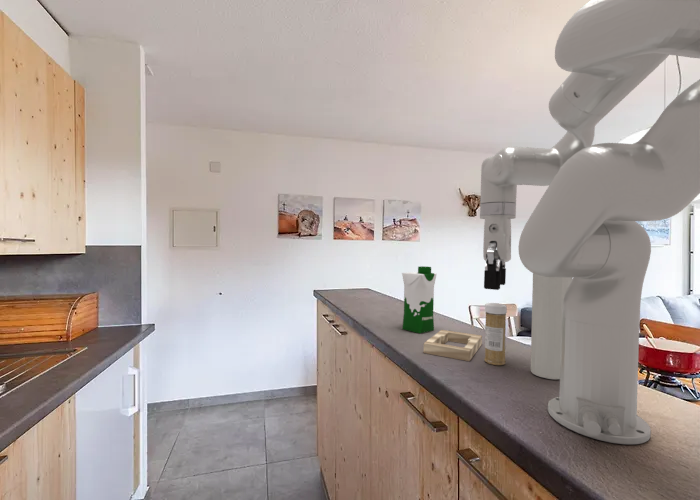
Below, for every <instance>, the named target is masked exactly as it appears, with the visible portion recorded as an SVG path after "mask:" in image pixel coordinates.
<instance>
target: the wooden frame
mask: <svg viewBox="0 0 700 500" xmlns="http://www.w3.org/2000/svg"><path fill="white" fill-rule="evenodd" d="M448 342H453V343H459V344H464V347H463V346H456V345H451V344H447V343H448ZM482 345H483V335H480V334H474V333H466V332H461V331H453V330H447V329H440V330H439V331H438V332H436V333H435V334H434V335H433V336H431V337H430V338H428V339H427V340H426V341H424V343H423V353H422V354H427V355H433V356H438V357H444V358H449V359H454V360H461V361H465V362H470V361H471V360H472V359H473V357H474V356H475V355H476V353H477V352H478V350H479V349H480V348H481V346H482Z"/></svg>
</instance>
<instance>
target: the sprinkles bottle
mask: <svg viewBox="0 0 700 500" xmlns="http://www.w3.org/2000/svg"><path fill="white" fill-rule="evenodd" d="M507 308H508V307H507V305H506V304H505V303H500V302H499V303H498V302H486V303H485V305H484V312H485V325H484V332H485V333H484V362H486V364H489V365H493V366H504V365H505V364H506V347H507V345H506V343H507V341H506V340H507V336H506V335H507V334H506V324H507V323H506V320H507V318H506V316H507V313H508V311H507V310H508V309H507Z"/></svg>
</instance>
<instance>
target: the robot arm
mask: <svg viewBox="0 0 700 500" xmlns="http://www.w3.org/2000/svg"><path fill="white" fill-rule="evenodd" d="M669 56H675V57H676V56H678V57H682V58H683V57H685V58H693V59H700V0H589V1H588V2H587V3H585V4H584V5H582V6H581V7H580V8H579V9H578V10H577V11H576V12H575V13H574V14H573V15H572V16H571V17H570V18H569V19H568V21H567V22H566V24H564V26H563V28H562V29H561V32H560V34H559V35H558V38H557V40H556V44H555V47H554V60H555V63H556V64H557V66H558V67H559V68H560V69H561V70H563V71H566V72H568V73H569V72H570V74H569V75H568V76H567V78H566V79H565V80H564V81H563V82H562V84H561V85H560V86H559V87H558V88H557V89H556V90H555V91H554V93H553V94H552V95H551V97H550V98H549V102H548V111H549V113H550V116H551V117H552V119H553V120H554V122H555V123H557V125H559V127H561V128H562V129H564V130H565V131H566V133H565V134H564V135H563V136H562V138H560V140H559V141H558V142H556V143H555V145H553V146H552V147H551V148H543V147H528V146H527V147H526V146H525V147H523V146H508V147H504V148H502V149H501V150H499V151H498V152H497V153H496V154H494V155H493V156H490V157H486V158H485V159H484V160H483V161H482V162H481V169H480V171H481V172H480V173H481V174H480V199H479V200H480V201H479V202H480V203H479V219H481V220H484V225H483V247H482V248H483V253H482V254H483V259H484V261H485V264H484V271H483V272H484V275H483V276H484V277H483V288H484V289H485V290H493V291H494V290H495V291H498V290H500V289H501V286H504V285H506V280H507V279H506V275H507V274H506V273H507V268H506V263H508V262H509V261H511V259H512V222H511V221H512V219H516V218H517V194H518V193H517V189H518V188H517V186H534V187H535V186H536V187H547V188H546V190H545V192H544V193H543V195H542V196H541V198H540V199H539V202H538V203H537V205H536V206H535V208H534V210H533V211H532V213H531V215H530V216H529V218H528V219H527V220H526V221H527V222H526V223H525V225H524V227H523V228H522V231H521V233H520V236H519V237H520V238H519V240H518V255H519V260H520V261H521V263H522V266H524V268H525V269H527V270H528V271H529V272H531V273H532V274H533V273H534V274H536V275H540V276H544V277H573V279H572V281H571V283H570V285H569V286H568V288H567V290H566V293H565V295H564V298H563V303H562V316H561V355H560V379H559V396H556V397H553V398H551V399H550V400H548V403H547V411H548V414H549V415H550V416H551V418H552V419H553V420H555V421H556V422H557V423H558V424H560V425H561V426H563V427H564V428H567V429H568V430H571V431H572V432H575V433H577V434H580V435H582V436H584V437H588V438H591V439H594V440H598V441H602V442H606V443H611V444H619V445H641V444H644V443H646V442H648V441H649V440H650V439H651V433H652V432H651V431H652V429H651V426H650V425H649V423H648V422H647V421H645V419H643V418H642V417H640V416H639V415H638V385H639V384H638V383H639V381H638V380H639V348H640V347H639V346H640V345H639V344H640V324H641V304H642V303H641V300H642V291H643V287H644V286H643V285H644V281H645V277H646V274H647V270H648V267H649V263H650V259H651V254H652V242H651V239H650V236H649V234H648V231H646V229H645V228H644V227H643V226H642V225H641V224H640V223H638V222H654V221H655V222H656V221H662V220H663V221H664V220H667V219H670V218H672V217H674V216H676V215H677V214H679V213H681V212H682V211H683V210H685V208H686V207H688V206H689V205H690V204H691V203H692V202H693V201H694V200H695V199H696V198H697V197H698V196H699V195H700V79H698V80H697V81H695V82H693V83H692V84H690V86H688V87H687V88H685V89H684V90H683V91H682V92H680V93H679V94H678V95H677V96H676V97H675V98H674V99H673V100H672V101H671V102H670V103H669V104H668V105H667V106H666V107H665V109H663V111H662V113H661V114H660V115H659V117H658V118H657V119H656V121H655V123H654V124H653V125H652V126H651V127H650V128H649V130H647V132H646V133H645V134H644V135H643V136H642V137H641V138H640V139H639V140H638V141H636V142H634V143H621V142H620V143H619V142H604V143H597V144H593V143H594V139H595V129H596V125H597V124H599V122H600V121H602V120H603V119H604V118H605V117H606V116H607V115H608V114H609V113H611V111H612V110H614V109H615V107H617V105H618V104H620V103H621V102H622V101H623V100H624V99H625V98H627V96H628V95H629V94H631V92H632V91H634V90H635V89H636V88H637V87H638V86H639V85H640V84H641V83H642V82H643V81H645V79H646V78H648V76H649V75H651V74H652V73H653V72H654V71H655V70H656V69H657V68H658V67H659V66H660V65H662V63H663V62H664V61H665V60H666V59H667V58H668V57H669Z"/></svg>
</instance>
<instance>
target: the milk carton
mask: <svg viewBox="0 0 700 500" xmlns="http://www.w3.org/2000/svg"><path fill="white" fill-rule="evenodd" d="M401 275H402V280H403V286H404V287H403V288H404V289H403V290H404V291H403V293H404V294H403V295H404V296H403V316H402V317H403V318H402V327H401V329H402V330H404V331H408V332H413V333H416V334H424V333H428V332H432V331H435V326H434V325H435V323H434V321H435V320H434V305H435V303H434V295H435V294H434V293H435V292H434V291H435V284H436V278H437V273H435V272H434V273H433V272H432V267H431V266H423V265H422V266H421V265H420V266H417V271H410V272H409V271H408V272H401Z"/></svg>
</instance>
